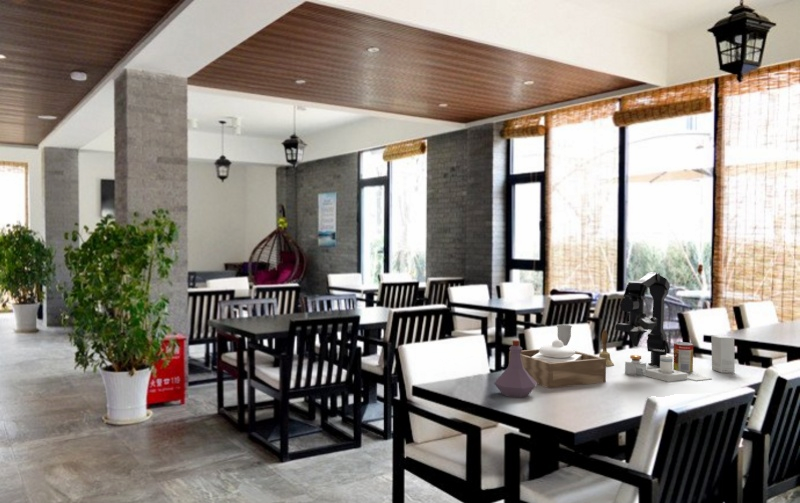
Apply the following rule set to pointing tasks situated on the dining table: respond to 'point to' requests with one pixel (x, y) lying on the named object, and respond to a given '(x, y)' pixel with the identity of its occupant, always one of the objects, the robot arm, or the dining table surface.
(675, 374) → the white flat block
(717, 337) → the skincare box
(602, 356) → the hand bell
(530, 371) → the wooden tray box
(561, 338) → the chalice
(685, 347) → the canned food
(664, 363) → the white cylinder
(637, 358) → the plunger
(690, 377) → the mat
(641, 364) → the plunger block
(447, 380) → the dining table surface
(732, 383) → the dining table surface
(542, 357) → the butter dish
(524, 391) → the flask
